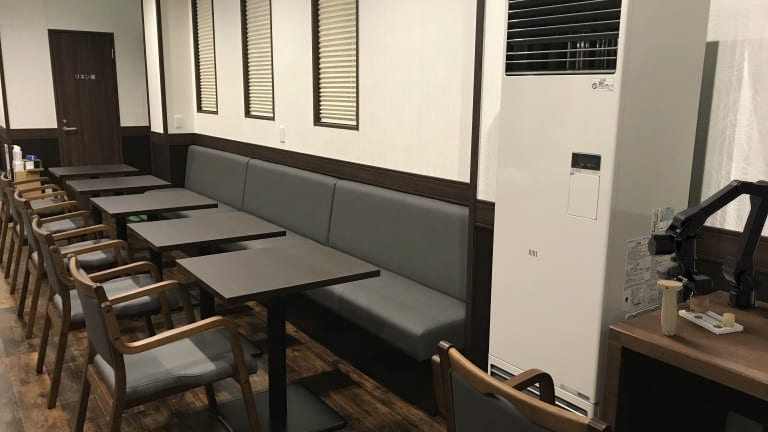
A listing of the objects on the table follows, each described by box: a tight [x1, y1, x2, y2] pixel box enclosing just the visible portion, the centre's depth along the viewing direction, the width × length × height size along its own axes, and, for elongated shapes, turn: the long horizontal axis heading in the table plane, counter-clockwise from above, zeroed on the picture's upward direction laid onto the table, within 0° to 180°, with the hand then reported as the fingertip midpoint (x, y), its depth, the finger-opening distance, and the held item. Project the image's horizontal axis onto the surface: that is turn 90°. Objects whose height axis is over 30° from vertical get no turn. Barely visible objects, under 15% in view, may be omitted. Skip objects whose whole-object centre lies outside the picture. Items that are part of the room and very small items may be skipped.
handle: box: [656, 279, 683, 336], centre depth 170 cm, size 5×6×15 cm
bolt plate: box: [678, 309, 744, 335], centre depth 177 cm, size 8×16×4 cm, turn 11°
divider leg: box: [684, 295, 710, 313], centre depth 183 cm, size 6×3×4 cm, turn 101°
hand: (683, 302), depth 189 cm, fingers closed
